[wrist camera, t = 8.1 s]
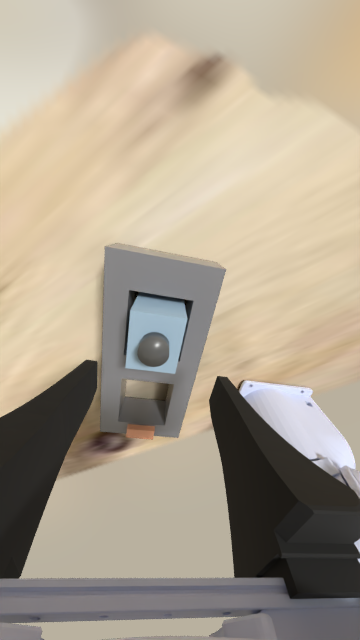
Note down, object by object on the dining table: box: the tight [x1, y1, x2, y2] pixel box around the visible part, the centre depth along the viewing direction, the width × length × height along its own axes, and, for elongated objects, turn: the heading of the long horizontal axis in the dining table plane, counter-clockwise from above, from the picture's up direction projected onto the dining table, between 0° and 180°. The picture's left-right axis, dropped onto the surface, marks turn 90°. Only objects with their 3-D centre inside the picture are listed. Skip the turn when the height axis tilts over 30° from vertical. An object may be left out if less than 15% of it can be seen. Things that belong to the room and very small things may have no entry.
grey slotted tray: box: [100, 243, 226, 439], centre depth 20 cm, size 9×20×4 cm, turn 169°
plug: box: [125, 292, 187, 374], centre depth 17 cm, size 4×5×7 cm
